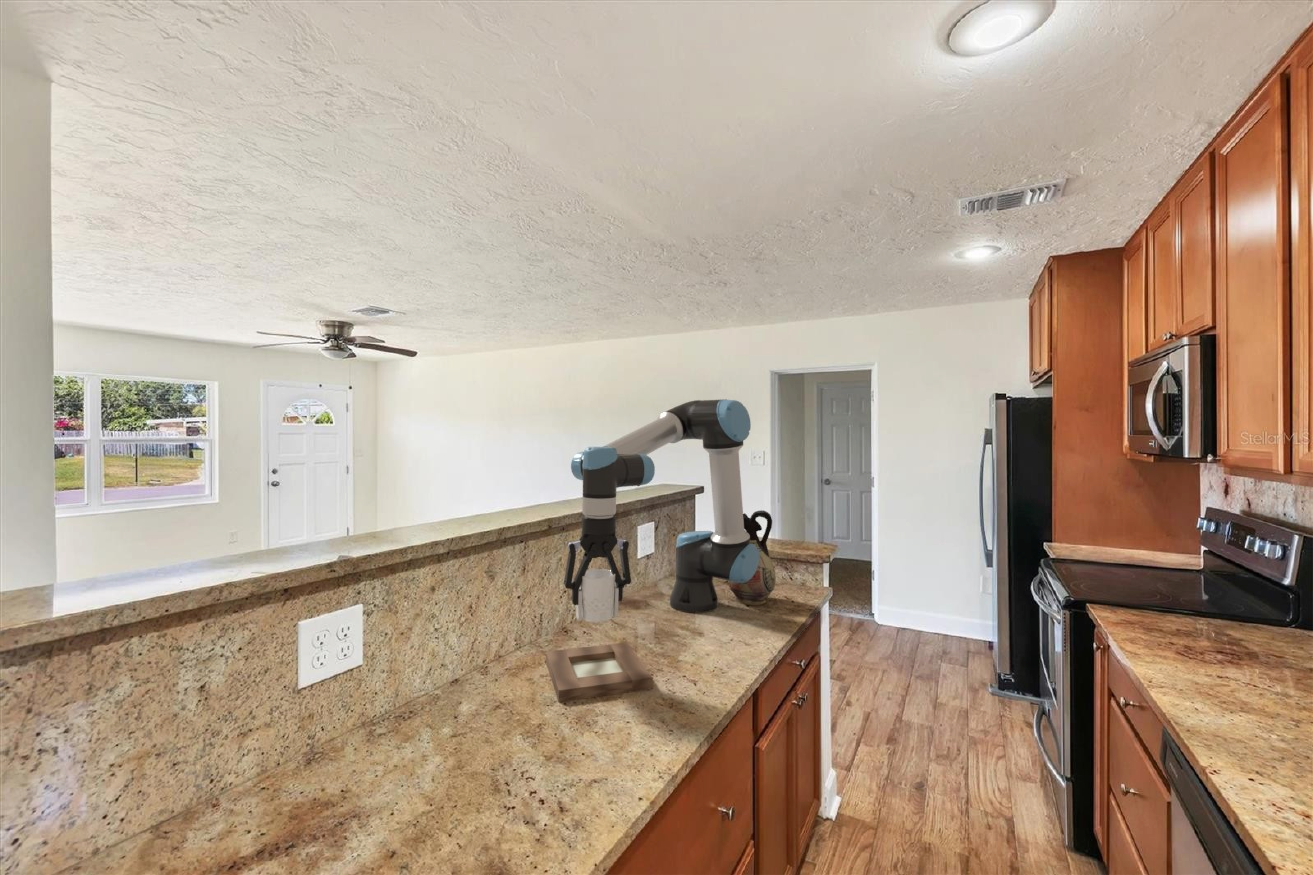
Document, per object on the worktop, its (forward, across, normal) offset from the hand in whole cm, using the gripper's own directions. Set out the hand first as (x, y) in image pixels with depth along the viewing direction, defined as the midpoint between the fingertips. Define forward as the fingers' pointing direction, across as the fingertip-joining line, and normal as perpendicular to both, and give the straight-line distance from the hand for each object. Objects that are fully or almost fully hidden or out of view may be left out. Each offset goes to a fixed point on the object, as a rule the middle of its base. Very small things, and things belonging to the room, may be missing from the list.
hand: (597, 616), depth 124 cm
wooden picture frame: (+13, 0, 0) cm, 13 cm away
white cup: (0, 0, 0) cm, 0 cm away
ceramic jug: (+13, -60, -37) cm, 72 cm away
